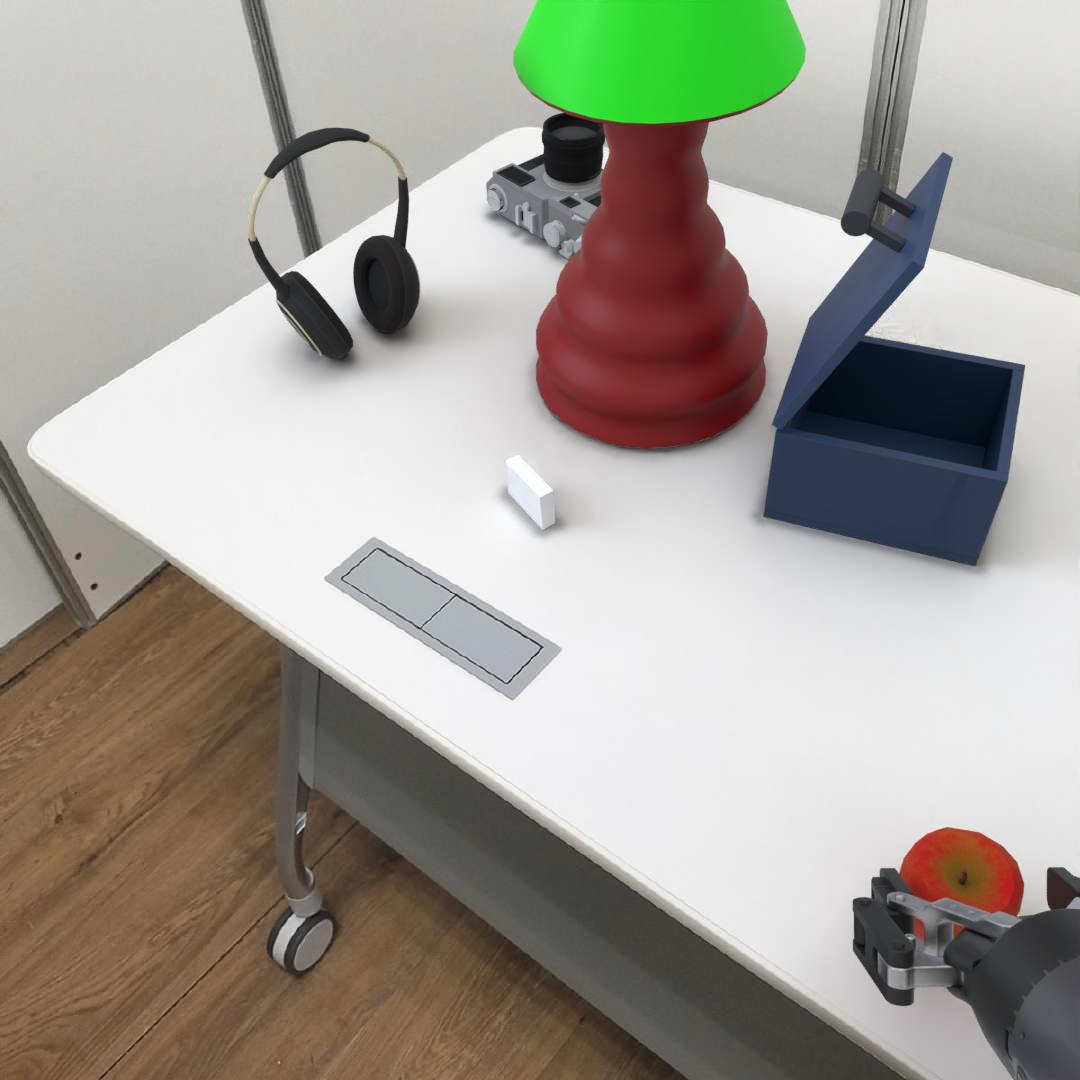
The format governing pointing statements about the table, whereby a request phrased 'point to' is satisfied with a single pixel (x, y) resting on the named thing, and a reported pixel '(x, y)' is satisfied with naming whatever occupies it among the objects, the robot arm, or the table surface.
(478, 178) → the table surface
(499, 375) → the table surface
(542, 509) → the eraser
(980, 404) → the box
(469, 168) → the table surface
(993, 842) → the apple
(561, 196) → the camera
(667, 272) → the table lamp
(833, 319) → the lid
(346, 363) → the table surface
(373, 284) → the headphones
